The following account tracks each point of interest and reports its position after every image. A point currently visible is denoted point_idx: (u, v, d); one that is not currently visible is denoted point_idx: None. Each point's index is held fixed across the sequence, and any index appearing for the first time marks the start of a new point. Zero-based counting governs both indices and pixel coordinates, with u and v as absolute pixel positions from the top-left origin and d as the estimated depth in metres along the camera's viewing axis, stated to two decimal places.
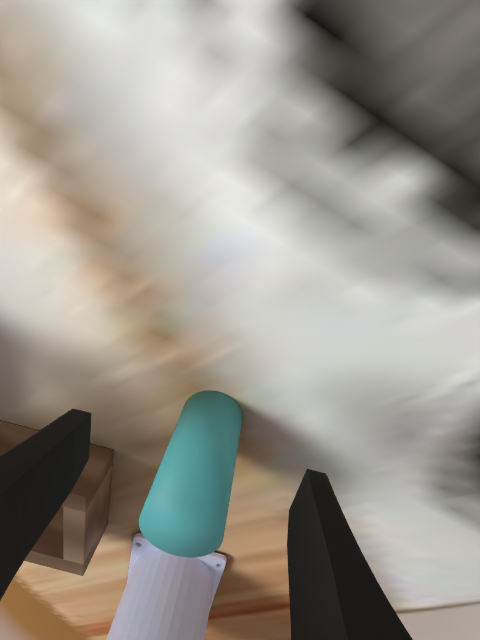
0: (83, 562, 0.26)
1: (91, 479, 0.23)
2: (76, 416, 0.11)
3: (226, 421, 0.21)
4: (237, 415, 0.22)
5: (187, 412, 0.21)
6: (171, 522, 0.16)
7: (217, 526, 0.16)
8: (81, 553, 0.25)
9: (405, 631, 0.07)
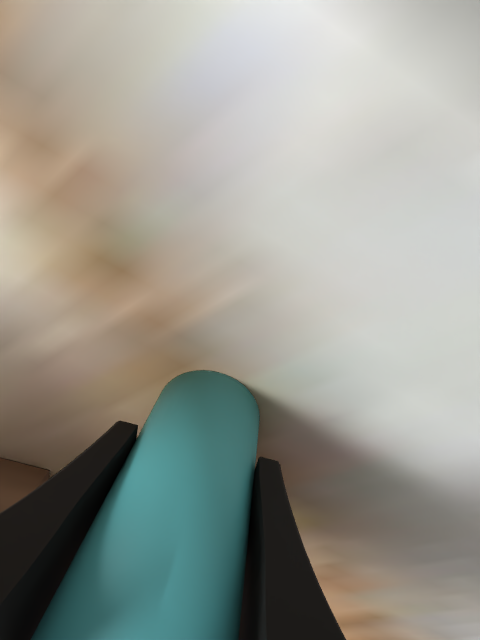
0: None
1: None
2: (124, 428, 0.11)
3: (233, 423, 0.11)
4: (252, 413, 0.12)
5: (161, 408, 0.11)
6: None
7: None
8: None
9: (328, 611, 0.07)
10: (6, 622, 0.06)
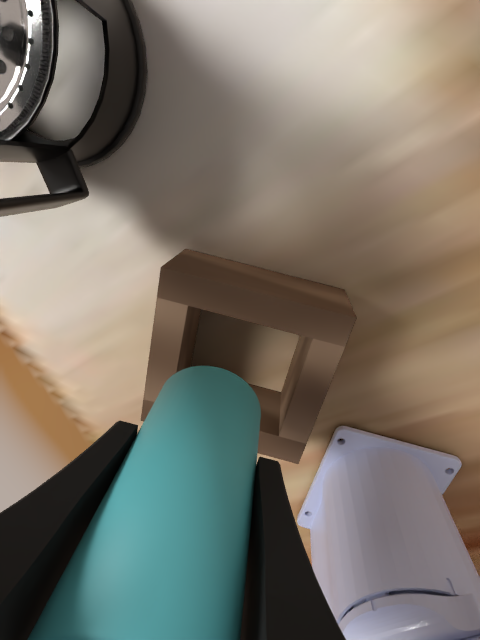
0: (306, 440, 0.19)
1: (346, 305, 0.17)
2: (124, 429, 0.11)
3: (237, 421, 0.11)
4: (255, 412, 0.12)
5: (165, 402, 0.11)
6: None
7: None
8: (309, 424, 0.18)
9: (328, 611, 0.07)
10: (6, 622, 0.06)
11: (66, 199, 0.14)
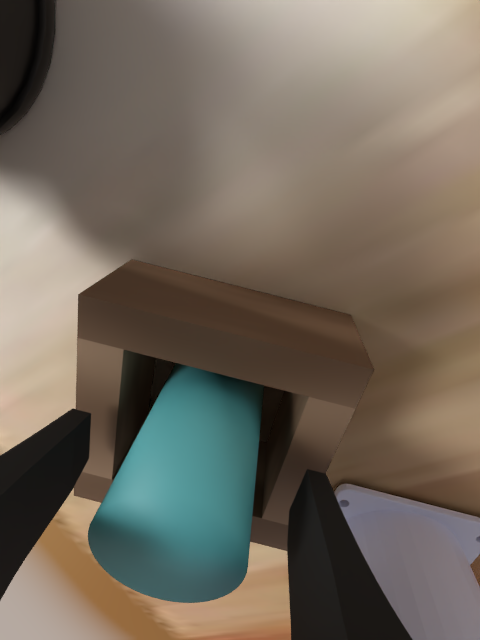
0: None
1: (356, 346, 0.11)
2: (76, 416, 0.11)
3: None
4: None
5: None
6: (149, 539, 0.08)
7: (239, 551, 0.08)
8: None
9: (405, 631, 0.07)
10: None
11: None
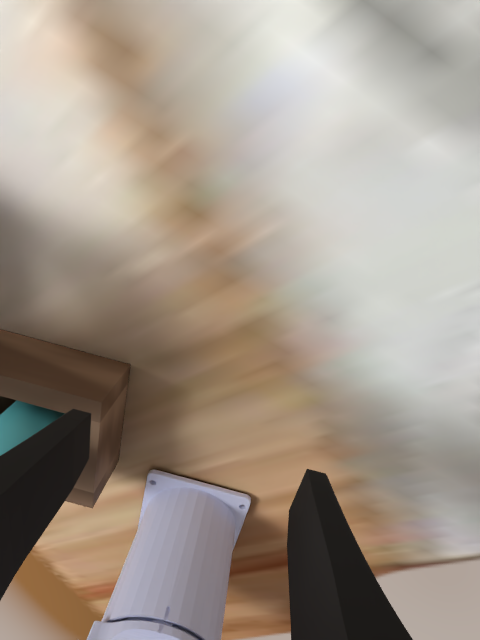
0: (93, 490, 0.23)
1: (107, 387, 0.21)
2: (76, 416, 0.11)
3: None
4: None
5: None
6: None
7: None
8: (91, 478, 0.22)
9: (405, 631, 0.07)
10: None
11: None
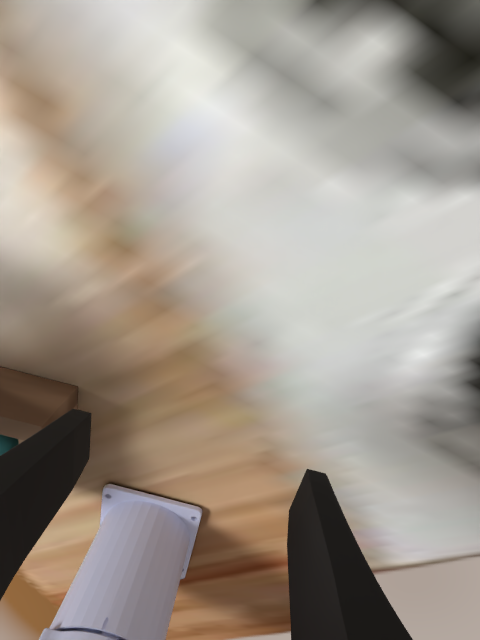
0: None
1: (50, 411, 0.22)
2: (76, 416, 0.11)
3: None
4: None
5: None
6: None
7: None
8: None
9: (405, 631, 0.07)
10: None
11: None
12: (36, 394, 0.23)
